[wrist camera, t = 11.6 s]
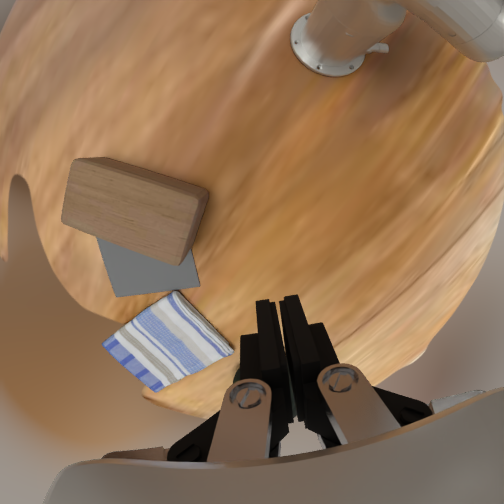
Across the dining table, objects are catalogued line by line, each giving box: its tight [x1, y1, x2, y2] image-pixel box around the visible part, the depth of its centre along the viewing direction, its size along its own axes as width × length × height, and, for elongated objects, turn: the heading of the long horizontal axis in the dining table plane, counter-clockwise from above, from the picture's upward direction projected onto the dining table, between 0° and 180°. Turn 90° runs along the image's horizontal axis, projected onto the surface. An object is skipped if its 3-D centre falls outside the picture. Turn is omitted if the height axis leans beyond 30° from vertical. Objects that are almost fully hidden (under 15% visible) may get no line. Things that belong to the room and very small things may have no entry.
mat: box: [96, 237, 200, 297], centre depth 47 cm, size 17×16×1 cm
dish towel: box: [102, 291, 234, 392], centre depth 52 cm, size 17×24×3 cm
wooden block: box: [61, 157, 209, 266], centre depth 39 cm, size 10×10×20 cm
